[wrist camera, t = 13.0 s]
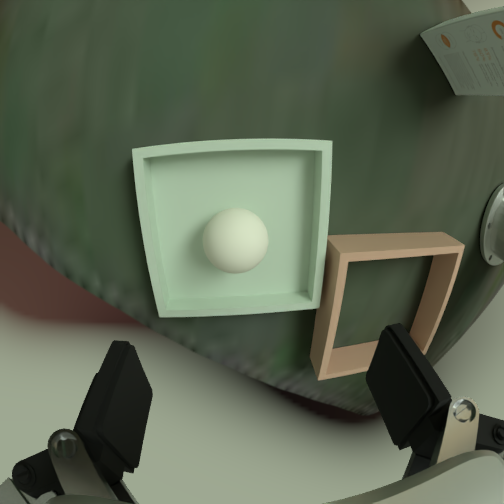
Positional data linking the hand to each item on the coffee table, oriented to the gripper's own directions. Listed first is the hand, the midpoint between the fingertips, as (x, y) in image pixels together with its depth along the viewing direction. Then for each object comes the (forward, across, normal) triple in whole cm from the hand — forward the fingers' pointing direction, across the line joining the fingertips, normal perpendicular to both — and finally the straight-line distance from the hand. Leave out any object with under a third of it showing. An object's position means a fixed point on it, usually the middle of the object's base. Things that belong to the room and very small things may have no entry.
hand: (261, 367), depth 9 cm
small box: (+16, -23, -20) cm, 35 cm away
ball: (+13, +1, 0) cm, 13 cm away
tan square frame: (+16, -15, +9) cm, 24 cm away
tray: (+16, +1, 0) cm, 16 cm away
